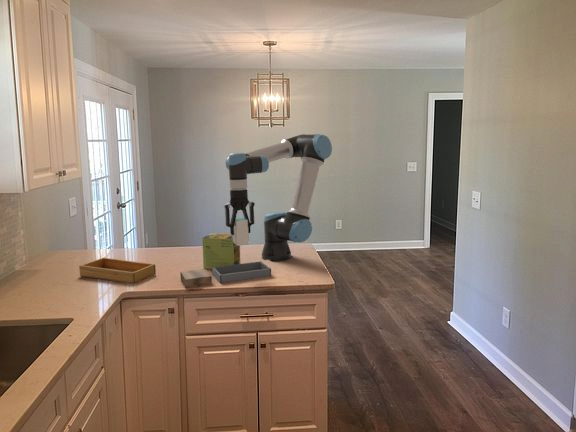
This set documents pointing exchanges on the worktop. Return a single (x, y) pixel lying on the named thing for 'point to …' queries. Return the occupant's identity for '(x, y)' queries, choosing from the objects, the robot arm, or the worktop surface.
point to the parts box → (241, 231)
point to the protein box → (220, 251)
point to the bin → (241, 272)
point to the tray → (117, 270)
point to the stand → (195, 278)
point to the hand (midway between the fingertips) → (240, 241)
